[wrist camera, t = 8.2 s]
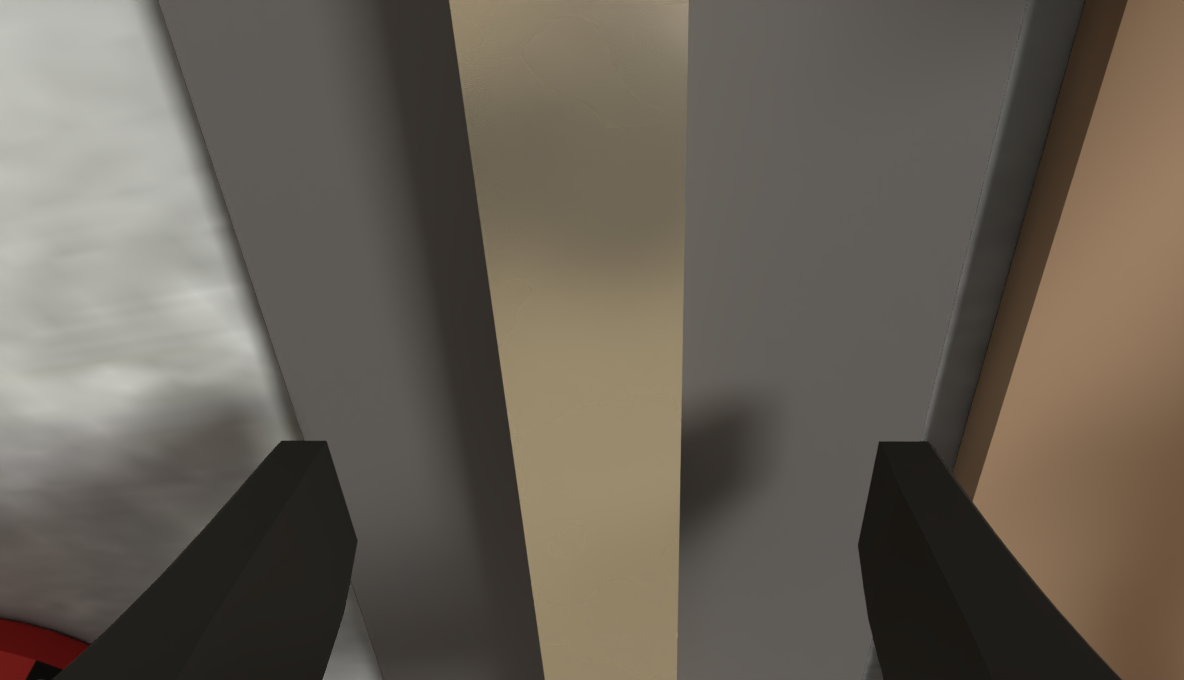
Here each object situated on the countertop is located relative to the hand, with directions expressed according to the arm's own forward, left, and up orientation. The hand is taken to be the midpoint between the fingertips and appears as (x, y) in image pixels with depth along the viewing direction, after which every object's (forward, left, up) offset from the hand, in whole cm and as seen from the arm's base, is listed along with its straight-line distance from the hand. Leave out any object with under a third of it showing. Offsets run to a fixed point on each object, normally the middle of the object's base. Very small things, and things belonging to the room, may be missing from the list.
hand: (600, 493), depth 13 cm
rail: (0, 0, -2) cm, 2 cm away
